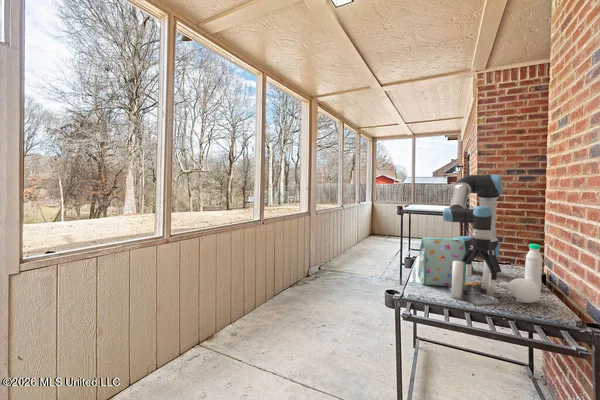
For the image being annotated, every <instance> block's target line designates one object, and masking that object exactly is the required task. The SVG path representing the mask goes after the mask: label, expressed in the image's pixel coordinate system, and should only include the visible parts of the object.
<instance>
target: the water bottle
mask: <svg viewBox="0 0 600 400" xmlns="http://www.w3.org/2000/svg"><path fill="white" fill-rule="evenodd" d="M528 249H529V251H528V252H527V253H526V255H525V267H524V268H525V269H524V274H525V275H524V279H527V280H530V281H532V282H534V283H535V284H536V285H537V286H538V287H539V289H540V292H541V291H542V273H543V260H544V259H543V257H542V254H541V252H540V250H541V245H540V244H538V243H537V244H536V243H529V244H528Z"/></svg>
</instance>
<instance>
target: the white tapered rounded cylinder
mask: <svg viewBox="0 0 600 400" xmlns="http://www.w3.org/2000/svg"><path fill="white" fill-rule="evenodd" d="M462 285H463V262H461V261H453V266H452V291H451V292H450V293H451V294H450V296H449V297H450V298H451V299H452V298H453V300H456V299H457V301H462V300H463V299H464V298H463V297H462Z"/></svg>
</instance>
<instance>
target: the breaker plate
mask: <svg viewBox="0 0 600 400" xmlns="http://www.w3.org/2000/svg"><path fill="white" fill-rule="evenodd" d="M451 291H452V287H448V292H450V293H451ZM462 297H463V299H464V300H465V301H468V302H470V303H472V304H474V305H476V306H483V305H496V304H498V305H499V303H500V302H499V298H497V297H495V296H494V297H492V296H490V295H487V294H486V290H484V289H482V287H481V292H476V291H474V287H471V292H468V291H467V290H464V287H462Z"/></svg>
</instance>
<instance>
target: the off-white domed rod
mask: <svg viewBox="0 0 600 400" xmlns="http://www.w3.org/2000/svg"><path fill="white" fill-rule="evenodd" d="M482 264H483V267H482V284H481V288H482V289H484V290H486V294H487V295H490V296H492V297H494V298H495V295H494V286H492V287H490V286H489V272H491V271H490V269H489V267H488V266H487V264H486V262H485V260H484V259H483V263H482Z"/></svg>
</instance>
